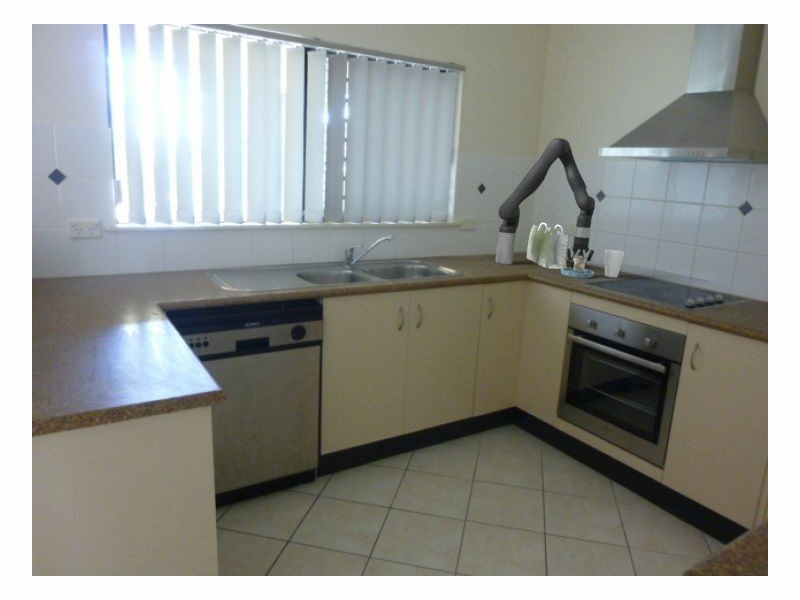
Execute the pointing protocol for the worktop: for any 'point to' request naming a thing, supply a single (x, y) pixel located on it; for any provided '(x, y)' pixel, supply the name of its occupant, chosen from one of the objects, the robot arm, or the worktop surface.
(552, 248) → the grocery bag
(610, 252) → the foam cup
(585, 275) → the dish
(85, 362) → the worktop surface
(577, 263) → the ash block
